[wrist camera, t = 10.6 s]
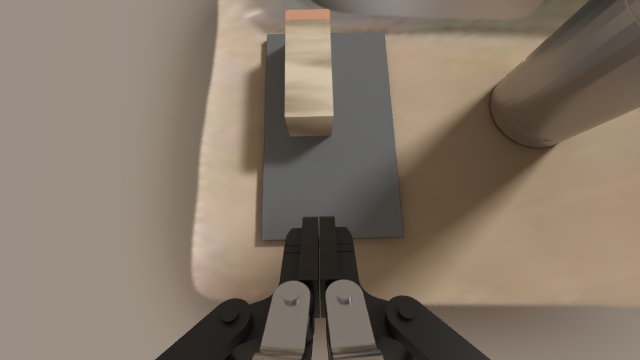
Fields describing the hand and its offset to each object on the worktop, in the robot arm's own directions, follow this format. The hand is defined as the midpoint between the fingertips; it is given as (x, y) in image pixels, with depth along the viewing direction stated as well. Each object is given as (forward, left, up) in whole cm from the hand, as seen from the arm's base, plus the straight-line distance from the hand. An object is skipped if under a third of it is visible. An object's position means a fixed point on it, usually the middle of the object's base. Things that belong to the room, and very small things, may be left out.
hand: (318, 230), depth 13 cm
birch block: (-9, -6, -12) cm, 16 cm away
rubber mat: (-11, -5, -15) cm, 19 cm away
